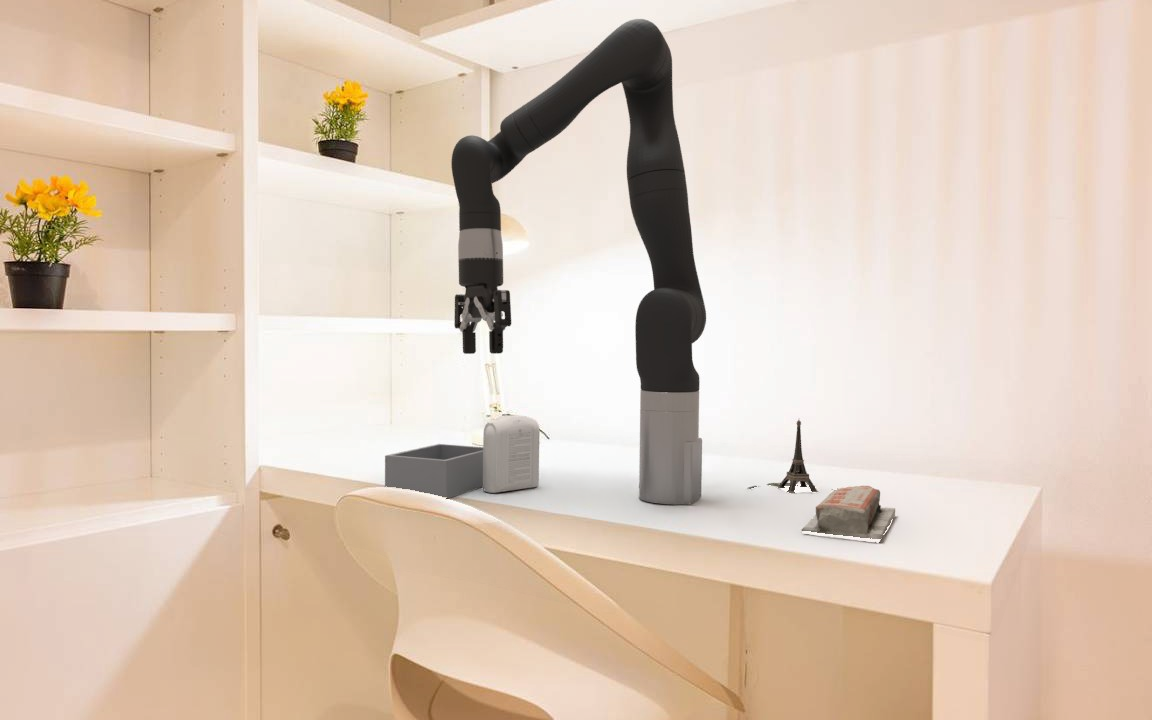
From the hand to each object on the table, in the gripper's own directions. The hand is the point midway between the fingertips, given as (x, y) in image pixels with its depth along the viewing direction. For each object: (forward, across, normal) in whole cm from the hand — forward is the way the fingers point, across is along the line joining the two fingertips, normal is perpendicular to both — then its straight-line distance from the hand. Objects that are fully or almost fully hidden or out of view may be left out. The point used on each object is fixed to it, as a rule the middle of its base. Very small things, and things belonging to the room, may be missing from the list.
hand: (482, 353), depth 137 cm
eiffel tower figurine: (+25, -34, -41) cm, 59 cm away
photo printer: (+23, -5, -2) cm, 24 cm away
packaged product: (+25, -54, -26) cm, 65 cm away
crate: (+22, +2, +7) cm, 23 cm away
